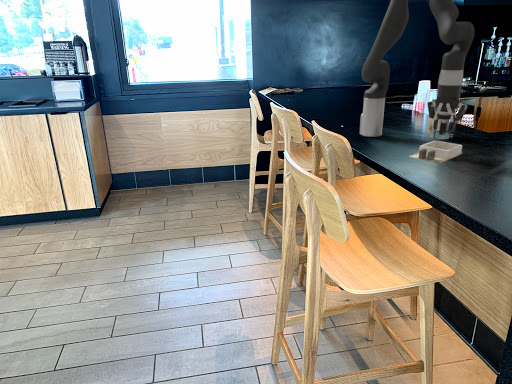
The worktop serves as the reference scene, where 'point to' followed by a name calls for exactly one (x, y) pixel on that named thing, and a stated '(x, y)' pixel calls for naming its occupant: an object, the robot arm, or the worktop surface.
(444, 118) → the push button
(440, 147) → the white open box
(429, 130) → the coffee box
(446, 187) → the worktop surface
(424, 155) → the board
